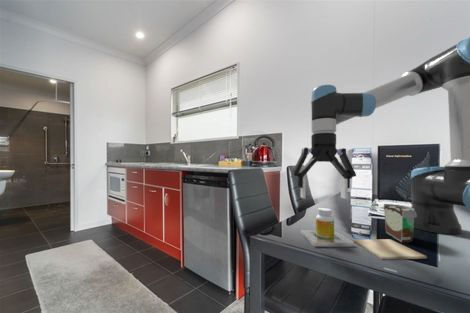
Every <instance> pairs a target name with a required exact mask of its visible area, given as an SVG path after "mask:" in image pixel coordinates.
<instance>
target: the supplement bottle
mask: <svg viewBox="0 0 470 313" xmlns="http://www.w3.org/2000/svg"><path fill="white" fill-rule="evenodd" d="M317 213H318V214H317V215H316V216H315V230H316V236H315V237H317V238H318V239H319V240H335V238H334V230H335V218H334V217H333V216H332V209H330V208H326V207H318V208H317Z"/></svg>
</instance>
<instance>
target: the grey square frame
mask: <svg viewBox="0 0 470 313" xmlns="http://www.w3.org/2000/svg"><path fill="white" fill-rule="evenodd" d="M299 234H300V235H302V236H303V237H304V239H306V240H307V241H308V242H309V244H311V245H312V246H313V247H314V248H327V247H328V248H341V247H342V248H343V247H344V248H346V247H347V248H349V247H355V246H356V245H355V244H356V243H355V242H353V240H351V239H350V238H348V237H347V236H345V235H344V234H342V233H340V232H338V231H337V230H336V229H334V240H319V239H318V238H317V237H316V229H300V231H299Z"/></svg>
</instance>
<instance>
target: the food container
mask: <svg viewBox="0 0 470 313" xmlns="http://www.w3.org/2000/svg"><path fill="white" fill-rule="evenodd" d="M411 207H412V206H405V205H399V204H392V203H388V204H387V203H383V208H382V210H384V221H385V222H384V223H385V233H386V234H388V235H389V236H392V238H394V239H395V240H398V241H399V242H401V243H411V242H413V241H414V240H413V239H414V229H415V228H414V218H415V217H417V214H416V211H415V209H413V208H411Z"/></svg>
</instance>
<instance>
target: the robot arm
mask: <svg viewBox="0 0 470 313" xmlns="http://www.w3.org/2000/svg"><path fill="white" fill-rule="evenodd" d="M439 88H442V89H443V90H446V91H447V94H448V95H447V96H448V97H447V98H448V101H447V102H448V124H449V149H450V150H449V151H450V152H449V154H450V160H449V162H447V163H446V164H444V166H430V167H429V166H425V167H417V168H414V169H412V170H411V172H410V179H409V180H410V190H411V191H410V193H411V194H410V195H411V206H410V207H411V208H413V209H415V211H416V214H417V217H415V218H414V229H416V230H417V229H418V230H421V231H425V232H429V233H437V234H443V235H444V234H445V235H459V234H462V233H463V228H462V225H461V223H460V222H459V219H458V217H457V214H456V212H455V209H454V207H455V206H461V207H466V208H468V209H470V36H469V37H468V38H466V39H462V40H460V41H458V42H457V43H456V44H455V45H453V46H450V47H449V48H447V49H446V50H443V51H442V52H440V53H438V54H436V55H435V56H433V57H431V58H429V59H427V60H426V61H424V62H423V63H421V64H419V65H418V66H417V67H415V68H413V69H411V70H408V71H407V72H404V73H402V75H401V76H400V77H398V78H396V79H394V80H392V81H389V82H386V83H384V84H381V85H379V86H376V87H374V88H372V89H369V90H367V91H364V92H350V93H349V92H345V93H344V92H338V91H337V87H336V86H335V85H333V84H322V85H318V86H316V87H315V88H313V90H312V92H311V102H310V105H311V133H312V134H311V143H310V144H311V148H309V147H303V148H302V149H301V154H300V156H299V159H298V160H297V163H295V167H294V168H293V170H292V172H291V175H292V176H294V177H296V178H297V187H298V188H300V192H299V194H300V198H301V199H306V197H307V196H306V195H307V194H306V191H307V190H306V188H307V185H306V184H307V183H306V182H307V181H306V180H307V179H306V177H305V175H307V173H308V172H309V171H310V170H311V169H312V167H313V166H314V165H315V164H316V163H317V162H318V163H320V162H325V163H327V162H329V163H331V164H332V165H333V167H334V168H335V169H336V170H337V172H338V173H339V174H340V176H342V178H340V198H341V199H344V200H348V199H349V198H348V191H349V190H348V189H350V188H351V184H350V183H351V179H352V178H354V177H356V176H357V173H356V171H355V169H354V167H353V165H352V163H351V161H350V159H349V157H348V155H347V150H346V148H345V147H343V148H337V134H336V132H337V125H339V124H341V123H344V122H346V121H349V120H350V119H353V118H357V117H359V118H365V117H369V116H371V115H373V113H374V112H375V110H376V109H377V108H380V107H383V106H385V105H388V104H390V103H392V102H395V101H397V100H399V99H402V98H405V97H408V96H409V97H412V96H416V95H419V94H421V93H425V92H428V91H433V90H436V89H439ZM310 154H311V155H312V156H311V157H310V159H309V160H308V162H307V163H306V164H305V165H304V163H305V161H306V159H307V158H308V155H310ZM337 155H338V157H339V159H340V161H341V162H340V161H339V159H338V158H337V157H336V156H337ZM341 163H342V164H341ZM303 165H304V166H303ZM302 167H303V168H302Z"/></svg>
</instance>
